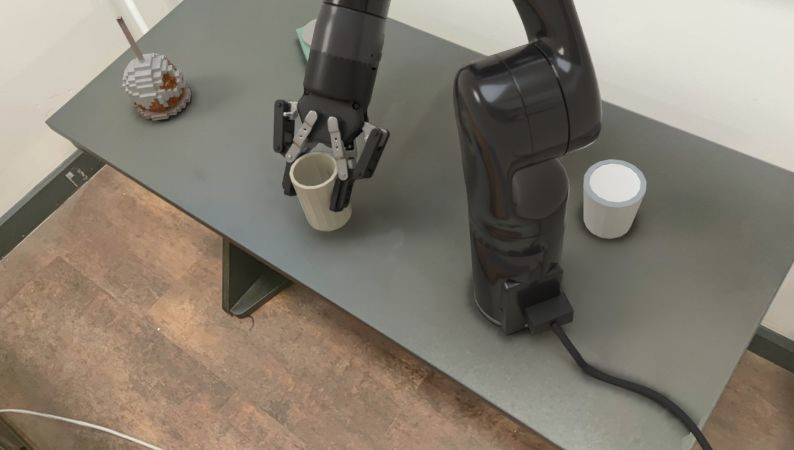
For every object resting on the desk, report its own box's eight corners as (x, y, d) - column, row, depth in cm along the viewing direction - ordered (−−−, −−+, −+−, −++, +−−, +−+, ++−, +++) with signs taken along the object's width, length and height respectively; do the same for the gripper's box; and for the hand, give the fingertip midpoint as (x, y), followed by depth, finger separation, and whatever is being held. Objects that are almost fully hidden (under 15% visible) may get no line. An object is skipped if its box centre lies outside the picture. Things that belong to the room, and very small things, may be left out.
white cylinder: (602, 187, 86) (609, 149, 80) (649, 217, 82) (659, 179, 77) (566, 220, 83) (570, 184, 77) (613, 253, 80) (621, 217, 74)
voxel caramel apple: (189, 118, 99) (145, 32, 87) (134, 126, 99) (82, 41, 87) (194, 80, 103) (152, -6, 91) (142, 88, 103) (93, 3, 91)
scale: (360, 57, 103) (356, 40, 101) (310, 72, 102) (305, 55, 100) (347, 27, 108) (343, 10, 105) (299, 41, 107) (294, 24, 104)
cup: (356, 222, 82) (343, 179, 76) (312, 237, 82) (295, 194, 75) (345, 189, 85) (331, 145, 79) (302, 203, 85) (285, 160, 78)
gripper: (270, 35, 74) (241, 187, 78) (388, 66, 70) (352, 226, 73) (308, 43, 81) (279, 183, 85) (418, 72, 77) (383, 218, 80)
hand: (313, 202), depth 79 cm, fingers closed on cup, 5 cm apart
